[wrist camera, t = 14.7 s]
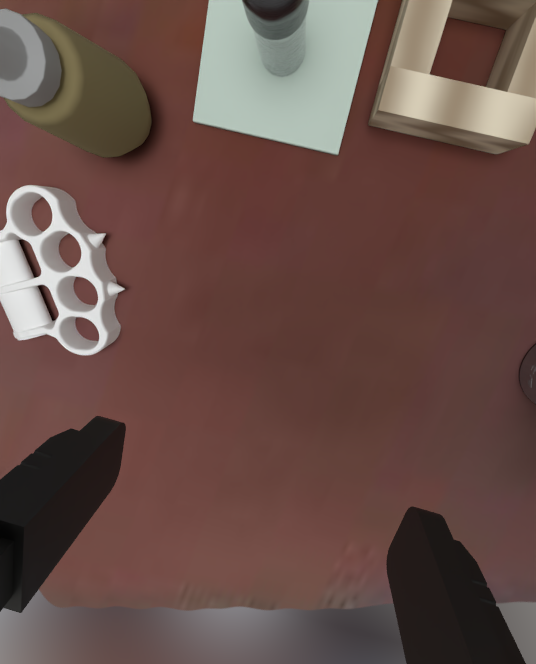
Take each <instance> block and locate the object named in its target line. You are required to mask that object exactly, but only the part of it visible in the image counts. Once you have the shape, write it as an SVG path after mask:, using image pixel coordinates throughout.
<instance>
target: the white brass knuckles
mask: <svg viewBox="0 0 536 664" xmlns="http://www.w3.org/2000/svg"><path fill="white" fill-rule="evenodd" d="M41 197H44V198H45V199H46V200H47V202H48V203H49V205H50V207H51V210H52V215H53V217H52V223H51V225H50V227H49V228H48V229H47V230H45V231H44V232H42V231H40V230H39V229H38V228H37V227H36V225H35V224H34V222H33V219H32V214H31V212H32V207H33V205H34V203H35V202H36V201H37V200H39V199H40V198H41ZM6 215H7V224H6V226H5V227H4V229H3V230H1V231H0V301H1V303H2V306H3V308H4V310H5V312H6V314H7V317H8V319H9V321H10V323H11V326H12V328H13V330H14V333H13V334H14V336H15V338H17V339H18V340H25V339H30V338H34V337H38V336H41V335H45V334H48V335H50V336H53V337H55V338H57V339H58V341H59V342H60V343H61V344H62V346H64V347H65V348H66V349H67V350H69V351H71V352H73V353H75V354H79V355H92V354H95V353H97V352H99V351H101V350H102V349H104V348H105V347H107V346H108V345H110V344H111V343H113V342H114V341H115V340H116V339H117V337H118V336H119V333H120V329H121V325H120V324H119V322H118V320H117V318H116V315H115V310H114V306H115V301H116V298H117V296H118V293H119V292H121V291H123V290H125V288H123V287H121V286H119V285H118V284H117V280H116V277H115V276H114V275H113V274H112V273H111V271H110V269H109V268H108V265H107V262H106V257H105V251H106V248H105V246H104V245H103V243H102V241H103V239H104V237H105V235H106V233H101V234H96V232H95V231H93V230H91V229H90V228H88V227H87V226H86V225H85V224H84V222H83V221H82V220H81V218H80V216H79V214H78V212H77V209H76V202H75V200H74V199H73V198H72V197H71V196H70V195H69V194H68V193H66V192H65V191H63V190H61V189H58V188H54V187H45V186H37V185H27V186H23V187H21V188H19V189H17V190H16V191H15V192H14V193H13V194H12V195H11V196H10V198H9V200H8V203H7V209H6ZM68 233H70V234H71V235H73V236H74V237H75V238H76V240H77V241H78V243H79V245H80V247H81V260H80V262H79V263H78V264H77V265H76V266H75V267H74V268H72V267H70V266H68V265H67V264H66V263H65V262H64V261H63V260H62V258H61V256H60V254H59V243H60V241H61V239H62V238H63V237H64V236H66V235H67V234H68ZM21 239H23V240H26V241H28V242H29V243H30V244H31V246H32V248H33V250H34V253H35V255H36V258H37V260H38V263H39V265H40V267H41V275H40V276H39V277H36V278H34V276H33V273H32V271H31V269H30V266H29V264H28V262H27V259H26V257H25V254H24V252H23V250H22V247H21V245H20V243H19V240H21ZM76 277H83V278H85V279H87V280H89V281H90V282H91V283H92V284H93V285H94V286H95V288H96V290H97V293H98V302H97V305H88V304H85V303H83V302H82V301H80V300H79V299H78V297H77V296H76V294H75V292H74V288H73V284H74V280H75V278H76ZM38 285H45V286H47V287H48V288H49V290H50V292H51V294H52V297H53V299H54V302H55V304H56V306H57V309H58V311H59V316H58V318H57V319H56V320H55V321H52V319H51V316H50V314H49V312H48V309H47V307H46V304H45V302H44V300H43V297H42V295H41V293H40V290H39V288H38ZM76 317H83V318H86V319H88V320H90V321H91V322H93V323H94V325H95V326H96V327H97V329H98V332H99V341H91V340H87V339H85V338H84V337H82V336H81V335H80V334H79V332H78V331H77V329H76V325H75V320H76Z"/></svg>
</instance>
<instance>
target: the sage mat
mask: <svg viewBox="0 0 536 664" xmlns="http://www.w3.org/2000/svg"><path fill="white" fill-rule="evenodd" d="M377 2H378V0H309V6H308V11H307V14H306V53H305V57H304V60H303V62H302V64H301V66H300V67H299V68H298V70H297V71H295V72H294V73H293V74H291V75H289V76H284V77H279V76H275V75H273V74H271V73H270V72H269V71H268V70H267V69H266V68H265V66H264V65H263V63H262V60H261V57H260V53H259V49H258V46H257V42H256V38H255V35H254V31H253V28H252V27H251V25H250V24H249V21H248V19H247V16H246V13H245V10H244V6H243V3H242V0H209V5H208V12H207V20H206V27H205V34H204V42H203V49H202V56H201V64H200V71H199V78H198V86H197V93H196V100H195V108H194V115H193V122H195V123H199V124H203V125H208V126H212V127H216V128H221V129H225V130H229V131H234V132H238V133H242V134H247V135H251V136H255V137H260V138H264V139H268V140H273V141H277V142H281V143H286V144H290V145H294V146H299V147H303V148H307V149H312V150H316V151H320V152H325V153H329V154H333V155H338V153H339V149H340V145H341V141H342V137H343V133H344V129H345V125H346V122H347V118H348V114H349V110H350V106H351V102H352V98H353V94H354V91H355V87H356V83H357V79H358V75H359V71H360V67H361V64H362V60H363V56H364V52H365V48H366V44H367V40H368V36H369V33H370V29H371V25H372V21H373V17H374V13H375V9H376V5H377Z"/></svg>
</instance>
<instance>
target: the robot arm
mask: <svg viewBox="0 0 536 664" xmlns="http://www.w3.org/2000/svg"><path fill="white" fill-rule="evenodd" d="M519 378H520V385H521V387H522V390H523V392H524V393H525V394H526V396H527V397H528V398H529V399H530V400H531V401H532V402H534V403H535V404H536V345H535V346H534V347H533V348H532V349H531V350H530V351H529V352H528V354H527V355H526V357H525V358H524V360H523V363H522V365H521V368H520V376H519ZM125 431H126V426H125V424H124V423H122V422H118V421H115V420H111V419H108V418H104V417H101V416H96V417H95V418H93V419H92V420H91V421H90V422H89V423H88V424H87V425H86V426H85V427H83V428H82V429H81V430H80V431H78V430H74V429H69V430H67V431H64V432H62V433H60V434H57V435H55V436H53V437H51V438H49V439H48V440H47V441H46V442H45V443H43V444H42V445H41V446H40V447H39V448H37V449H36V450H35V452H34V453H33V454H32V453H31V454H30V455H29V456H28V457H27V458H26V459H24V460H23V461H22V462H21V464H20V465H17V466H16V467H15V468H14V469H12V470H11V471H10V472H9V473H8V474H6V475H5V476H4V477H3V478H2V479H1V480H0V611H1V610H2V609H3V608H6V609H9V610H13V611H16V612H19V613H21V612H22V611H23V610H24V608H25V607H26V606H27V604H28V603H29V601H30V600H31V599H32V597H33V596H34V595H35V593H36V592H37V591H38V589H39V588H40V586H41V585H42V584H43V582H44V581H45V580H46V578H47V577H48V576H49V574H50V573H51V572H52V570H53V569H54V567H55V566H56V565H57V563H58V562H59V561H60V559H61V558H62V557H63V555H64V554H65V552H66V551H67V550H68V548H69V547H70V546H71V544H72V543H73V542H74V540H75V539H76V538H77V536H78V535H79V533H80V532H81V531H82V529H83V528H84V527H85V525H86V524H87V523H88V521H89V520H90V518H91V517H92V516H93V514H94V513H95V512H96V510H97V509H98V508H99V506H100V505H101V504H102V502H103V501H104V499H105V498H106V497H107V495H108V494H109V493H110V491H111V490H112V488H113V486H114V484H115V482H116V480H117V477H118V475H119V471H120V466H121V459H122V452H123V445H124V438H125ZM387 575H388V579H389V584H390V589H391V593H392V598H393V603H394V607H395V612H396V617H397V621H398V625H399V630H400V635H401V640H402V644H403V649H404V654H405V658H406V663H407V664H526V663H525V661H524V659H523V657H522V655H521V653H520V651H519V649H518V647H517V645H516V642H515V640H514V638H513V636H512V634H511V632H510V630H509V628H508V626H507V624H506V622H505V620H504V618H503V616H502V614H501V611H500V609H499V607H497V606H496V601H495V599H494V597H493V595H492V593H491V591H490V589H489V588H487V582H486V580H485V578H484V576H483V574H482V572H481V570H480V568H479V566H478V564H477V562H476V561H475V559H474V558H473V557H472V556H471V555H470V553H469V552H468V551H467V550H466V548H465V547H464V546H463V545H462V543H461V542H460V541H456V540H454V539H453V537H452V535H451V533H450V530H449V528H448V526H447V524H446V521H445V519H444V518H443V516H442V515H440V514H437V513H434V512H430V511H427V510H423V509H420V508H416V507H410V508H409V509H408V510H407V512H406V513H405V516H404V518H403V520H402V522H401V524H400V526H399V528H398V530H397V532H396V535H395V537H394V539H393V541H392V543H391V545H390V547H389V550H388V555H387Z"/></svg>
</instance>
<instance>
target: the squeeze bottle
mask: <svg viewBox="0 0 536 664" xmlns="http://www.w3.org/2000/svg"><path fill="white" fill-rule="evenodd" d="M0 96H1V97H4V99H5V101H6V102H7V104H8V106H9V107H10V108H11V109H12V110H13V111H14V112H15V113H17V114H18V115H19V116H20V117H21V118H22V119H23V120H24V121H26V122H28V123H30V124H32V125H35V126H37V127H39V128H41V129H43V130H45V131H47V132H49V133H51V134H53V135H55V136H57V137H59V138H61V139H63V140H65V141H67V142H69V143H71V144H73V145H75V146H77V147H79V148H81V149H83V150H85V151H87V152H90V153H93V154H95V155H98V156H101V157H103V158H104V157H117V156H121V155H124V154H126V153H128V152H130V151H132V150H133V149H135V148H137V147H138V146H140V145H142V144H143V142H144V141H145V140H146V138H147V137H148V135H149V132H150V128H151V123H152V119H151V112H150V106H149V103H148V100H147V96H146V93H145V91H144V89H143V87H142V85H141V83H140V81H139V79H138V77H137V75H136V73H135V72H134V71H133V70H132V69H131V68H130V67H129V66H128V65H127V64H126V63H125V62H124V61H122V60H121V59H120V58H118V57H117V56H115V55H113V54H111V53H110V52H108V51H106V50H105V49H103V48H101V47H100V46H98V45H96V44H95V43H93V42H91V41H90V40H88V39H86V38H85V37H83V36H81V35H79V34H78V33H76V32H74V31H73V30H71V29H69V28H68V27H66V26H64V25H63V24H61V23H59V22H58V21H56V20H54V19H51V18H48V17H46V16H43V15H40V14H38V13H32V14H23V15H21V14H19V13H16V12H13V11H11V10H8V9H0Z"/></svg>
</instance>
